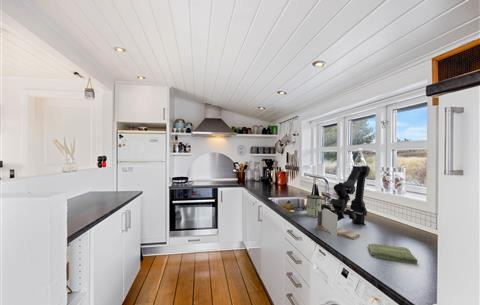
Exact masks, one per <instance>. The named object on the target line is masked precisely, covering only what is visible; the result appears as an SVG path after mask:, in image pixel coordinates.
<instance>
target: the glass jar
mask: <svg viewBox="0 0 480 305" xmlns="http://www.w3.org/2000/svg"><path fill="white" fill-rule="evenodd" d="M321 206H322V196H321V195H316V194H314V195H313V194H308V195H306V213H305V214H306V216H308V217H313V218H318V211H320V210H321V211H322V208H321Z"/></svg>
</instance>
